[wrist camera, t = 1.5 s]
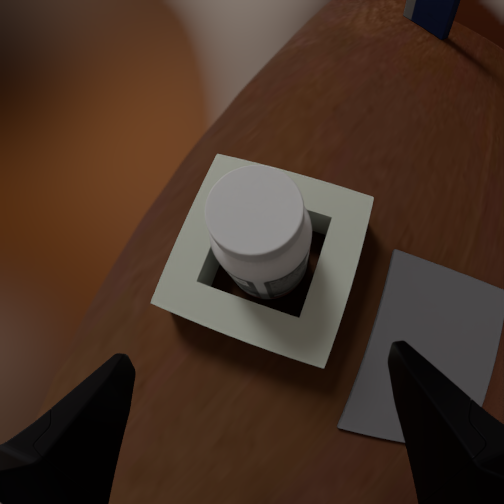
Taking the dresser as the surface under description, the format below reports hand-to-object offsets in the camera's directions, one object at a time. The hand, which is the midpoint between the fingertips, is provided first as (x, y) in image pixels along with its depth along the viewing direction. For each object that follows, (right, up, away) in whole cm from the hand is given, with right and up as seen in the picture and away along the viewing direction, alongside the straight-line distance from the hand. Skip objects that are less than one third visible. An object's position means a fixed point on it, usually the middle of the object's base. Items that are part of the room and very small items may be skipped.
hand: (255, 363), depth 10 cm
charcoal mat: (+14, -5, +10) cm, 18 cm away
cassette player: (+26, +37, +22) cm, 51 cm away
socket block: (+1, +3, +14) cm, 14 cm away
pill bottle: (+1, +3, +14) cm, 15 cm away
